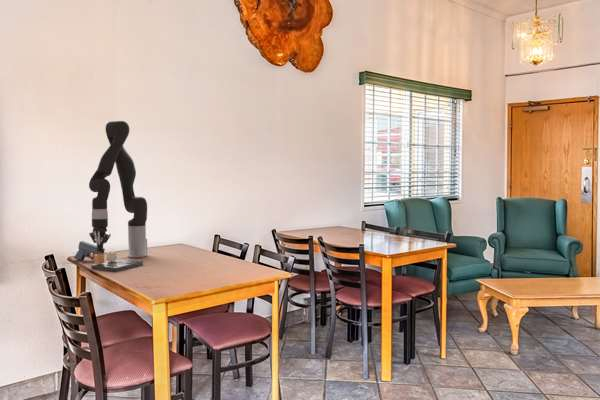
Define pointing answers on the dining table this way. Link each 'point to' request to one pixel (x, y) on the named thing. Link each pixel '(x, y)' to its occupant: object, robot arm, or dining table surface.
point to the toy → (87, 251)
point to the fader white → (111, 256)
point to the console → (117, 265)
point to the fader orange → (98, 258)
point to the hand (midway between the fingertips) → (100, 251)
